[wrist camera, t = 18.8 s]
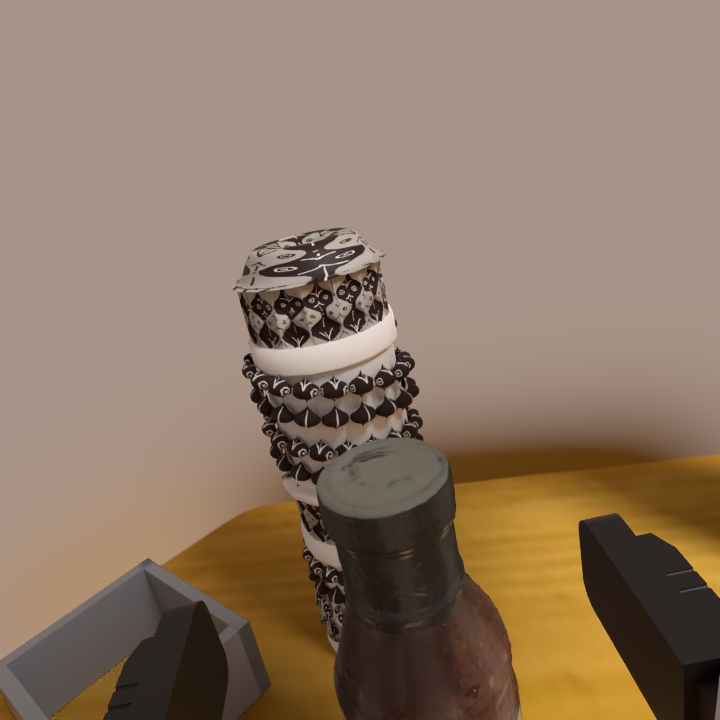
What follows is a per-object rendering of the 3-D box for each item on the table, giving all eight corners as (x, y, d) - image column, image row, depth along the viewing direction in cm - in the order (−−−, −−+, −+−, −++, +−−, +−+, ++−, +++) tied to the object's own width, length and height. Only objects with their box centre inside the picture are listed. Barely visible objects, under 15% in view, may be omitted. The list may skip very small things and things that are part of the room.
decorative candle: (308, 595, 41) (207, 251, 33) (428, 552, 43) (361, 214, 35) (337, 701, 33) (211, 274, 24) (485, 642, 35) (414, 224, 26)
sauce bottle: (407, 775, 28) (320, 413, 21) (542, 795, 26) (494, 404, 19) (376, 949, 22) (242, 529, 15) (546, 991, 20) (479, 532, 13)
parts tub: (169, 613, 42) (147, 558, 41) (270, 684, 35) (248, 621, 33) (21, 729, 35) (-13, 669, 34) (106, 852, 28) (68, 782, 26)
